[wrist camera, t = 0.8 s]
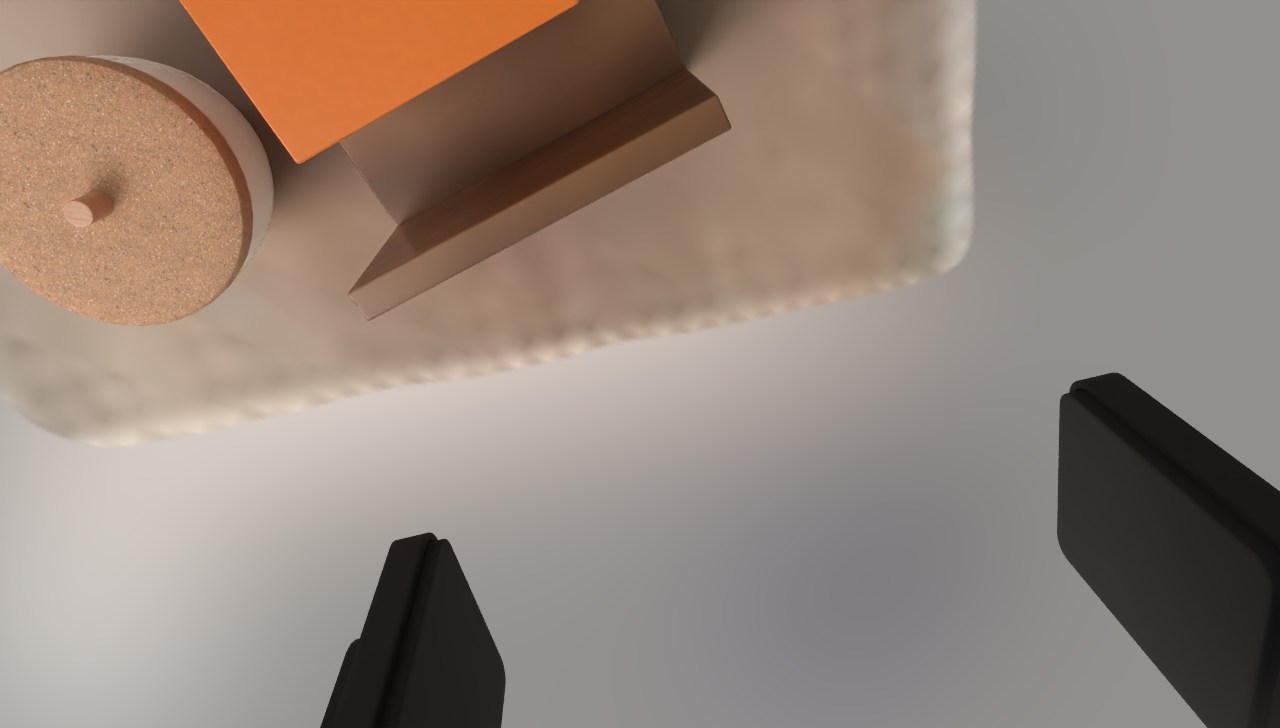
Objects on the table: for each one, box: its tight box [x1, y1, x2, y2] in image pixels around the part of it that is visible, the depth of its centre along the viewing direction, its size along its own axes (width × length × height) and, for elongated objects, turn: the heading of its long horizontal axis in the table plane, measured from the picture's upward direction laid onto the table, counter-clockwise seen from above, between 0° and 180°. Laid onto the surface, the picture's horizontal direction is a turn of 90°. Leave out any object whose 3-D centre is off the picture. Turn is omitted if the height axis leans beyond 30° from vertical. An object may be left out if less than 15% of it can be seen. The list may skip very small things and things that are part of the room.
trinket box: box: [0, 55, 274, 325], centre depth 33 cm, size 11×11×9 cm
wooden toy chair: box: [339, 0, 731, 321], centre depth 29 cm, size 14×14×14 cm
